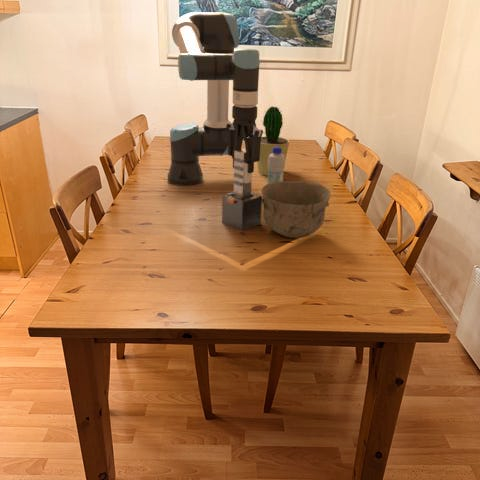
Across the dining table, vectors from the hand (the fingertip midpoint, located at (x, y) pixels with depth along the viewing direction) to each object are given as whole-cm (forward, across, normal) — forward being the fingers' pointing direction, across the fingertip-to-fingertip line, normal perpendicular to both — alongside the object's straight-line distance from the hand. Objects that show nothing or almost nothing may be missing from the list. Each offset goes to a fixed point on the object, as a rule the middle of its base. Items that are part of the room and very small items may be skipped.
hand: (242, 180), depth 144 cm
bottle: (+17, -11, +30) cm, 36 cm away
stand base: (+16, 0, 0) cm, 16 cm away
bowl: (+16, +16, +8) cm, 24 cm away
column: (+12, 0, 0) cm, 12 cm away
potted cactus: (+17, -33, +54) cm, 65 cm away
